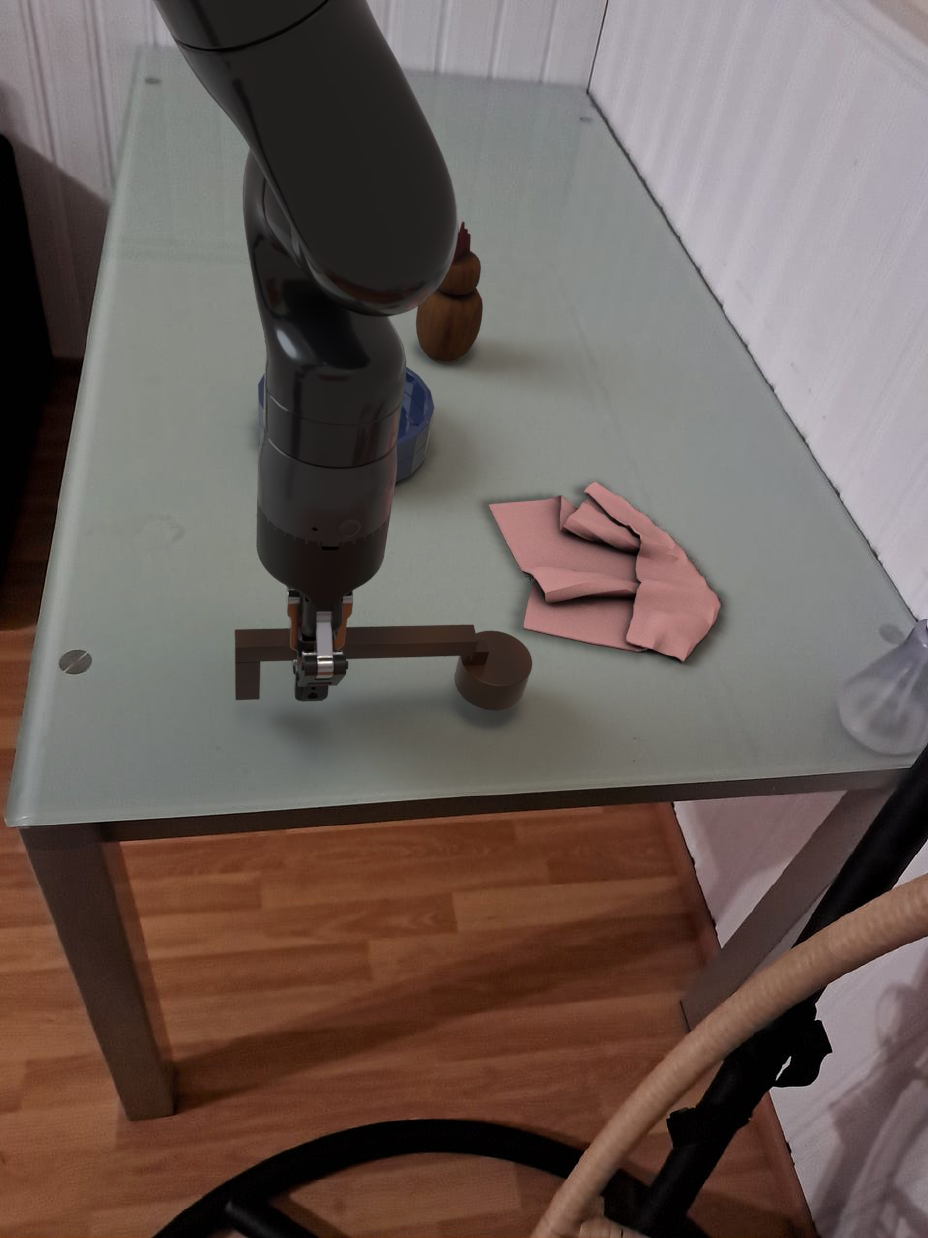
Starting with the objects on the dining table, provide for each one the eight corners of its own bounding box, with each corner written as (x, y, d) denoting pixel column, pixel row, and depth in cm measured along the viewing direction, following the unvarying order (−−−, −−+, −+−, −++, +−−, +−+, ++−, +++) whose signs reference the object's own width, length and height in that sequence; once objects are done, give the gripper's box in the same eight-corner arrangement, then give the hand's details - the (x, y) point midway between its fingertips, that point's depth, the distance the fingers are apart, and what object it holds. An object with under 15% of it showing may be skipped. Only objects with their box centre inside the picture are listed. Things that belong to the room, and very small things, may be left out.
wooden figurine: (437, 375, 99) (459, 236, 88) (402, 347, 101) (419, 209, 90) (484, 358, 102) (511, 222, 91) (449, 331, 105) (472, 196, 94)
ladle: (236, 722, 63) (235, 669, 59) (234, 662, 67) (233, 608, 63) (531, 709, 68) (548, 660, 64) (515, 654, 72) (531, 604, 68)
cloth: (710, 687, 76) (721, 668, 74) (448, 605, 77) (452, 584, 75) (729, 527, 89) (738, 508, 88) (506, 460, 91) (511, 440, 89)
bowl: (293, 510, 82) (295, 464, 78) (235, 403, 90) (234, 358, 86) (454, 477, 88) (462, 433, 84) (385, 380, 96) (390, 337, 93)
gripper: (253, 416, 57) (251, 612, 69) (261, 580, 48) (257, 771, 60) (378, 420, 59) (353, 610, 71) (408, 579, 50) (374, 765, 62)
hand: (309, 683), depth 66 cm, fingers closed on ladle, 1 cm apart
